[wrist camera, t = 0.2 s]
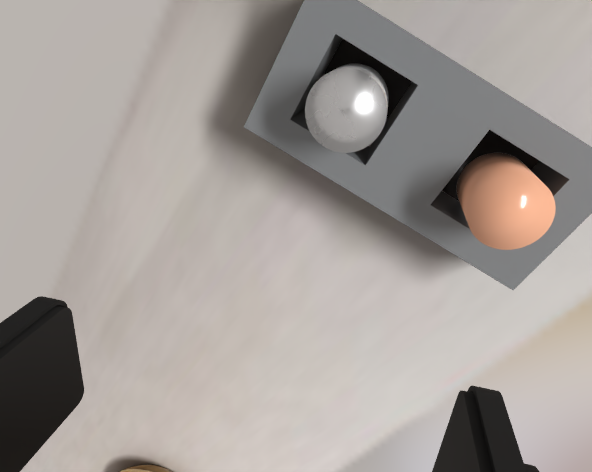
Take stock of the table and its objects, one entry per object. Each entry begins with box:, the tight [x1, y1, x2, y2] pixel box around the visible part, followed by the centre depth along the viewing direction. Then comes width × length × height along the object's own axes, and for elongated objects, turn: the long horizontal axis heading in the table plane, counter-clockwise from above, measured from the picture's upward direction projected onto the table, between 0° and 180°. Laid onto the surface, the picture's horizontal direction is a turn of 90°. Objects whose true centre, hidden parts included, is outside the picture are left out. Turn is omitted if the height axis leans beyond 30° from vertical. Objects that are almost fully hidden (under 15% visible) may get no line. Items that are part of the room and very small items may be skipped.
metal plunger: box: [305, 63, 388, 153], centre depth 28 cm, size 5×5×6 cm
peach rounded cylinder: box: [456, 152, 556, 250], centre depth 29 cm, size 5×5×6 cm
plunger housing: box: [244, 0, 592, 290], centre depth 32 cm, size 11×24×6 cm, turn 61°
